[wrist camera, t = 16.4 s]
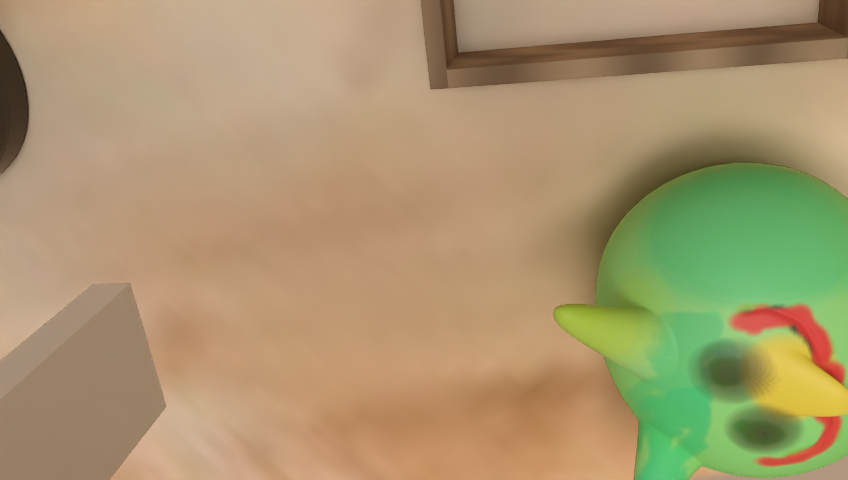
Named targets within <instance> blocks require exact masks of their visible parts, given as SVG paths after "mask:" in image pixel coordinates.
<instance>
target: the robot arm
mask: <svg viewBox="0 0 848 480" xmlns="http://www.w3.org/2000/svg"><path fill="white" fill-rule="evenodd" d="M26 125H27V98H26V92H25V87H24V83H23V79H22V76H21V73H20V70H19V67H18V64H17V62H16V60H15V57H14V55H13V53H12V51H11V49H10V48H9V46H8V44H7V42H6V41H5V39H4V37H3V36H2V34H1V33H0V173H1V172H2V171H4V170H5V169H6V168H7V167H8V166H9V165H10V164H11V162H12V161H13V160H14V158H15V157H16V155H17V153H18V152H19V150H20V147H21V145H22V142H23V139H24V136H25V132H26ZM165 408H166V403H165V400H164V396H163V393H162V389H161V386H160V383H159V379H158V376H157V372H156V369H155V366H154V362H153V359H152V355H151V352H150V349H149V345H148V342H147V339H146V335H145V332H144V328H143V325H142V322H141V318H140V315H139V311H138V308H137V305H136V301H135V298H134V294H133V291H132V288H131V284H130V283H121V284H93V285H92V286H90V287H89V288H88V289H87V290H86V291H84V292H83V293H82V294H81V295H80V296H78V297H77V298H76V299H75V300H73V301H72V302H71V303H70V304H69V305H67V306H66V307H65V308H64V309H63V310H61V311H60V312H59V313H58V314H57V315H55V316H54V317H53V318H52V319H50V320H49V321H48V322H47V323H46V324H44V325H43V326H42V327H41V328H40V329H38V330H37V331H36V332H35V333H34V334H32V335H31V336H30V337H29V338H27V339H26V340H25V341H24V342H23V343H21V344H20V345H19V346H18V347H17V348H15V349H14V350H13V351H12V352H11V353H9V354H8V355H7V356H6V357H4V358H3V359H2V360H1V361H0V480H110V478H111V477H112V476H113V475H114V473H115V472H116V471H117V469H118V468H119V467H120V466H121V464H122V463H123V462H124V460H125V459H126V458H127V457H128V455H129V454H130V453H131V451H132V450H133V449H134V447H135V446H136V445H137V444H138V442H139V441H140V440H141V438H142V437H143V436H144V435H145V433H146V432H147V431H148V429H149V428H150V427H151V426H152V424H153V423H154V422H155V420H156V419H157V418H158V417H159V415H160V414H161V413H162V411H163V410H164V409H165Z"/></svg>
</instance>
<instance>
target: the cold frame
mask: <svg viewBox="0 0 848 480" xmlns="http://www.w3.org/2000/svg"><path fill="white" fill-rule="evenodd" d="M421 7H422V16H423V25H424V34H425V44H426V53H427V62H428V71H429V81H430V89H443V88H457V87H470V86H484V85H497V84H510V83H524V82H537V81H551V80H564V79H577V78H591V77H604V76H618V75H631V74H644V73H658V72H671V71H685V70H698V69H711V68H725V67H738V66H752V65H765V64H778V63H792V62H805V61H819V60H832V59H845V58H848V0H820V3H819V14H818V23H808V24H796V25H784V26H772V27H760V28H748V29H736V30H724V31H712V32H700V33H688V34H676V35H664V36H652V37H640V38H628V39H616V40H605V41H593V42H581V43H569V44H557V45H545V46H533V47H521V48H509V49H497V50H485V51H473V52H461V53H458V47H457V36H456V25H455V14H454V3H453V0H421Z"/></svg>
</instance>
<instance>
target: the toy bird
mask: <svg viewBox="0 0 848 480" xmlns="http://www.w3.org/2000/svg"><path fill="white" fill-rule="evenodd" d="M553 315H554V318H555V321H556V322H557V323H558V325H559V326H560V327H561V328H562V329H564V330H565V331H566V332H567V333H568V334H570V335H571V336H573V337H574V338H576V339H577V340H579V341H580V342H582V343H583V344H585V345H586V346H588V347H590V348H591V349H593V350H595V351H597V352H598V353H600V354H602V355H603V356H604V358H605V361H606V364H607V367H608V369H609V372H610V374H611V376H612V379H613V381H614V383H615V385H616V387H617V389H618V390H619V392H620V394H621V396H622V397H623V399H624V400H625V402H626V404H627V405H628V406H629V408H630V409H631V411H632V412H633V413H634V415H635V416H636V417H637V419H638V439H637V450H636V460H635V470H634V480H689V479H690V477H691V476H692V475H693V474H694V472H695V471H696V470H697V469H698V468H699V467H701V466H704V467H707V468H710V469H713V470H716V471H719V472H723V473H727V474H732V475H738V476H745V477H757V478H775V477H785V476H792V475H797V474H802V473H806V472H810V471H813V470H816V469H819V468H821V467H824V466H827V465H829V464H831V463H833V462H836V461H838V460H839V459H841V458H843V457H845V456H847V455H848V199H847V198H846V197H845V196H844V195H842V194H841V193H840V192H839V191H837V190H836V189H834V188H833V187H831V186H830V185H828V184H826V183H825V182H823V181H821V180H819V179H817V178H815V177H813V176H811V175H808V174H806V173H803V172H800V171H798V170H794V169H791V168H787V167H783V166H778V165H772V164H765V163H728V164H721V165H715V166H710V167H706V168H702V169H698V170H695V171H692V172H689V173H686V174H684V175H681V176H679V177H677V178H675V179H673V180H671V181H669V182H667V183H665V184H663V185H662V186H660V187H658V188H657V189H655V190H654V191H652V192H651V193H649V194H648V195H647V196H645V197H644V198H643V199H642V200H640V201H639V202H638V203H637V204H636V205H635V206H634V207H633V208H632V209H631V210H630V211H629V212H628V213H627V214H626V215H625V216H624V218H623V219H622V220H621V221H620V223H619V224H618V225H617V227H616V228H615V230H614V232H613V233H612V235H611V237H610V239H609V240H608V243H607V245H606V247H605V249H604V252H603V255H602V258H601V261H600V265H599V269H598V274H597V280H596V290H595V305H586V304H566V305H560V306H558V307H556V308H555V309H554V312H553Z"/></svg>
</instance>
